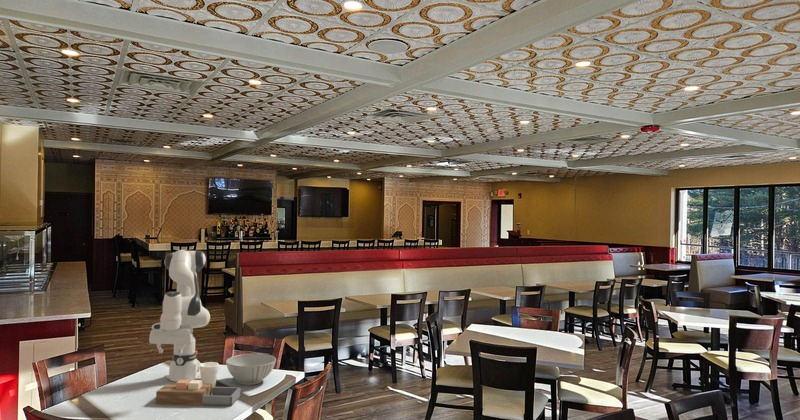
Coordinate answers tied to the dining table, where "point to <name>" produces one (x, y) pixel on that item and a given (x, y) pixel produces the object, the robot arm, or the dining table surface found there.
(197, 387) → the cream block
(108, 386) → the dining table surface
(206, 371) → the foam cup
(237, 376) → the decorative bowl
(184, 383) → the salmon orange block
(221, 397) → the box
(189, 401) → the walnut platform
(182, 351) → the robot arm
